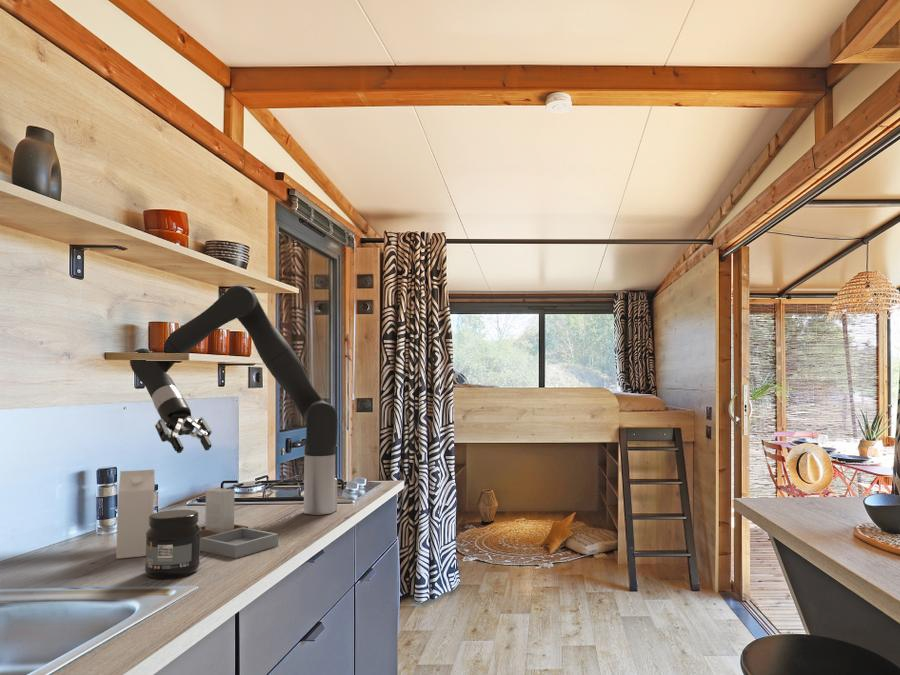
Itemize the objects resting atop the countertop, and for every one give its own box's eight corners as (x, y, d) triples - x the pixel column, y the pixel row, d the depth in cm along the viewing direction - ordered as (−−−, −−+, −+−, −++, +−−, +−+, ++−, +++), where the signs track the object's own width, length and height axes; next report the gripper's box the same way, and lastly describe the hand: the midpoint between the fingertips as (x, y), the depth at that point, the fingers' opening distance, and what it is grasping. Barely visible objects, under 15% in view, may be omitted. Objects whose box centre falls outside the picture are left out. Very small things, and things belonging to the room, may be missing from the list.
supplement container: (188, 562, 139) (189, 506, 139) (207, 572, 131) (209, 514, 132) (137, 572, 131) (139, 513, 132) (154, 584, 124) (156, 521, 124)
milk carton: (118, 551, 147) (121, 469, 148) (152, 548, 150) (154, 467, 151) (116, 559, 140) (119, 473, 142) (151, 556, 143) (153, 471, 144)
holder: (220, 531, 167) (220, 521, 167) (248, 536, 161) (248, 526, 161) (190, 538, 159) (190, 528, 159) (218, 544, 153) (218, 534, 153)
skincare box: (234, 536, 160) (235, 489, 161) (222, 540, 157) (223, 492, 157) (216, 534, 163) (217, 487, 164) (203, 538, 159) (205, 490, 160)
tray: (243, 538, 159) (243, 527, 159) (278, 545, 152) (278, 533, 152) (199, 550, 148) (199, 538, 148) (235, 558, 141) (235, 545, 141)
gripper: (153, 396, 168) (178, 442, 161) (199, 395, 180) (224, 438, 173) (140, 415, 170) (164, 461, 163) (187, 413, 182) (211, 456, 175)
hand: (195, 449), depth 168 cm, fingers open, 8 cm apart
